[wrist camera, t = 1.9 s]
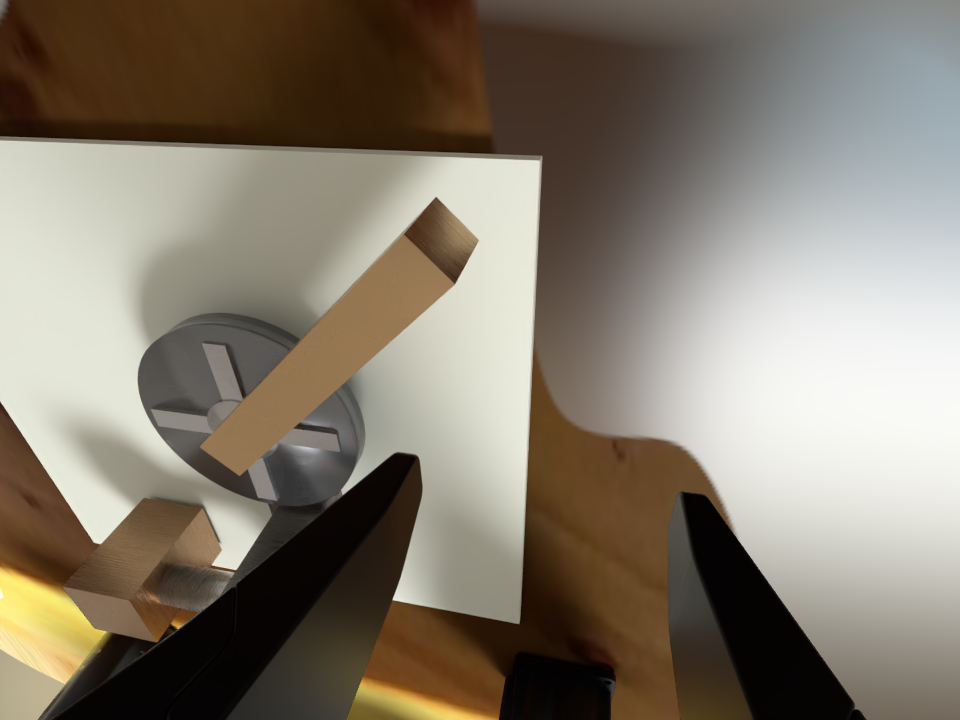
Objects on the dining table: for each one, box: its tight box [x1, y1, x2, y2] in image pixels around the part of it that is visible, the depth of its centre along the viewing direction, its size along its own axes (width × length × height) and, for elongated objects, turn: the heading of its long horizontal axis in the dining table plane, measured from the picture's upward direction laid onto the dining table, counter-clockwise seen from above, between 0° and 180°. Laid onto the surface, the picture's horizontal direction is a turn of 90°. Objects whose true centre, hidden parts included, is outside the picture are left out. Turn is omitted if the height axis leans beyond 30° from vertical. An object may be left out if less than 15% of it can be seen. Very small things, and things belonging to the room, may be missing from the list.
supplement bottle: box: [38, 626, 175, 720], centre depth 41 cm, size 7×7×12 cm
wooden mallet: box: [62, 498, 234, 642], centre depth 30 cm, size 15×4×6 cm, turn 91°
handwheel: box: [137, 197, 479, 506], centre depth 21 cm, size 16×16×4 cm
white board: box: [0, 136, 542, 624], centre depth 27 cm, size 30×27×2 cm
